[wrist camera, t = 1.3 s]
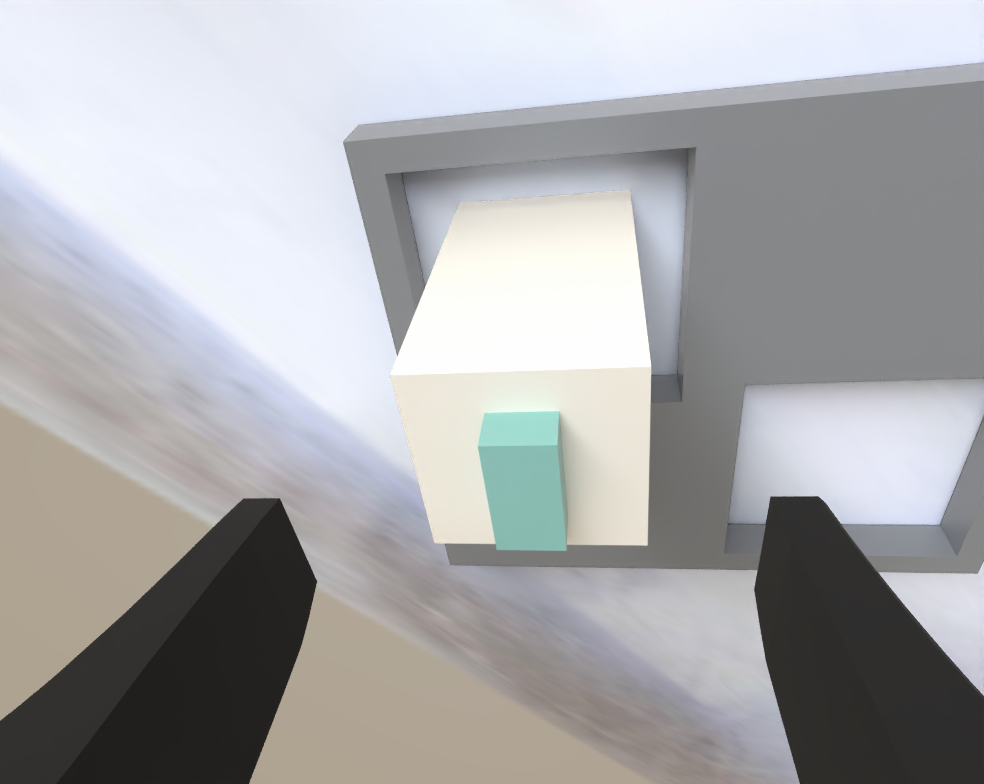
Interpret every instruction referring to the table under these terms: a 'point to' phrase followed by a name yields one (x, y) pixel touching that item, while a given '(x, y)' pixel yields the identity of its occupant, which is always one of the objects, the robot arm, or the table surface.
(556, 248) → the plug
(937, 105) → the socket panel
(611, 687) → the table surface
